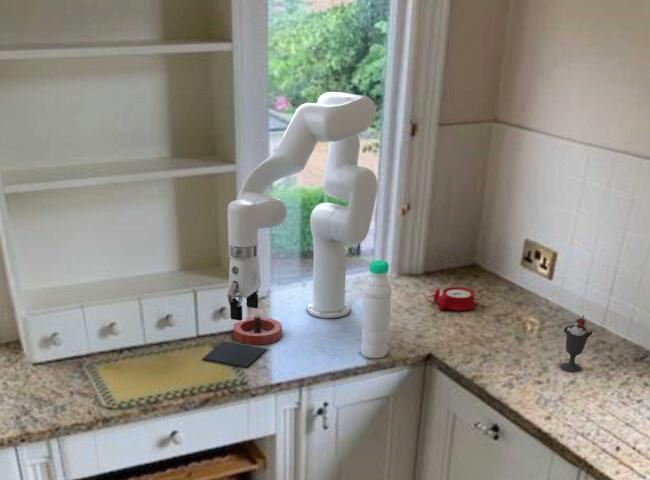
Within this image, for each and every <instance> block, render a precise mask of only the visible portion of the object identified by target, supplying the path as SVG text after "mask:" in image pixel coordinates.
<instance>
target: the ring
mask: <svg viewBox="0 0 650 480" xmlns="http://www.w3.org/2000/svg"><path fill="white" fill-rule="evenodd" d="M260 317H261V316H260ZM245 319H246V320H245V321H242V322H238V321H237V322H238V323H237V322H235V323H234V324H233V328H232V330H233V338H234V339H235V340H236V341H237V342H238V343H239V342H240V343H242V344H244V345H250V346H254V345H255V346H256V345H257V346H259V345H260V346H261V345H268V344H272V343H274V342H277V341H279V340H280V339H281V338H282V336H283V335H282V332H283V331H282V329H283V328H282V327H283V326H282V323H281V322H280V321H278V320H276V319H274V318H270V317H263V316H262V317H261V329H263V330H268V331H266V332H264V333H250V332H249V331H248V330H253V329H254V316H253V317H247V318H245Z"/></svg>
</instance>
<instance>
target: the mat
mask: <svg viewBox="0 0 650 480" xmlns="http://www.w3.org/2000/svg"><path fill="white" fill-rule="evenodd" d="M265 352H267V348H264V347H259V346H254V345H249V344H243V343H242V344H241V343H236V342H231V341H222V342H221V343H219V344H218V345H217V346H215V348H213V349H212V350H211V351H209V352H208V353H207V354H206V355H205V356H204V357H202V361H207V362H212V363H218V364H222V365H228V366H233V367H239V368H245V369H248V368H249V367H250V366H251V365H252V364H253V363H255V362H256V361H257V360H258V359H259V358H260V357H261V356H262V355H263V354H264V353H265Z"/></svg>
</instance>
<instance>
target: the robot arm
mask: <svg viewBox="0 0 650 480" xmlns="http://www.w3.org/2000/svg"><path fill="white" fill-rule="evenodd" d="M376 114H377V107H376V104H375V102H374V101H373V100H372V99H371V98H370V97H369V96H366V95H361V94H353V93H347V92H338V91H329V92H325V93H322V94H321V95H320V96H319V98H318V100H317V103H314V102H306V103H302V104H301V105H299V106H298V108H297V109H296V110H295V112H294V114H293V116H292V118H291V120H290V122H289V124H288V126H287V128H286V130H285V132H284V134H283V135H282V138H281V140H280V141H279V144H278V145H277V148H276V149H275V151H274V153H272V154H271V155H270V156H268V157H267V158H266V159H264V160H263V161H262V162H261V163H259V164H258V165H257V166H256V167H255V168H254V169H253V170H252V171H251V172H250V173H249V174H248V175H247V177H246V178H245V180H244V182H243V184H242V186H241V188H240V190H239V192H238V194H237V197H236V200H233V201H232V200H231V202H229V203H228V205H227V235H228V236H227V238H228V257H229V270H228V286H229V287H228V291H227V293H226V296H227V300H228V301H227V302H228V303H229V304H228V305H229V309H230V311H229V312H230V320H235V321H241V320H243V305H242V301H243V298H244V299H246V307H247V308H252V309H258V308H259V291H260V290H259V289H260V288H261V267H260V258H259V234H258V233H259V232H258V231H259V229H271V228H276V227H279V226H280V225H282V224H283V223H284V221H285V220H286V218H287V215H288V210H287V206H286V204H285V202H284V201H283V200H281V199H280V198H278V197H275V196H270V195H267V194H265V192H266V191H267V189H268V188H269V187H270V186H272V184H275V182H277V181H279V180H281V179H285V178H287V177H291V176H293V175H296V174H298V173H300V172H302V171H304V169H305V168H306V166H307V164H308V162H309V159H310V158H311V156H312V154H313V152H314V149H315V148H316V146H317V144H318V142H319V141H325V142H328V149H327V155H326V156H327V157H326V162H325V166H324V172H323V177H322V178H323V179H322V191H323V194H325V195H326V196H327V197H329V198H333V199H336V200H340V201H344V202H347V203H348V206H346V205H343V204H338V203H334V202H322V203H319V204H317V205H316V206H315V207H314V208H313V210H312V211H311V214H310V219H309V224H310V230H311V236H312V245H313V260H312V302H310V303H309V304H308V305H307V313H309V314H310V315H311V316H314V317H317V318H322V319H337V318H341V317H344V316H347V315H348V314H349V313H350V311H351V310H350V308H351V307H350V305H349V304H348V303H346V294H347V290H346V278H347V276H346V273H347V249H346V245H345V244H348V245H354V246H355V245H359V244H361V243H363V242H364V241H365V239H366V238H367V236H368V234H369V231H370V227H371V223H372V218H373V214H374V210H375V204H376V198H377V194H378V179H377V176H376V174H375V173H374V171H373V170H371V169H370V168H368V167H364V166H360V165H358V163H359V157H360V149H361V142H360V138H359V134H362V133H364V132H365V131H367V130H368V129H369V128H370V127H371V126H372V125H373V123H374V121H375V119H376V117H377V116H376Z"/></svg>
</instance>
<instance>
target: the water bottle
mask: <svg viewBox="0 0 650 480" xmlns="http://www.w3.org/2000/svg"><path fill="white" fill-rule="evenodd" d="M389 266H390V265H389V263H388V262H387V261H386V260H378V259H377V260H372V261H371V262H370V263H369V273H370V277H369V278H368V279H367V282H366V284H365V286H364V288H363V295H364V296H363V304H362V330H361V346H360V353H361V354H362V355H363V356H364V357H366V358H369V359H380V358H383V357H386V356H387V354H388V351H389V350H388V349H389V342H388V340H389V336H390V334H389V327H390V319H391V305H392V304H391V302H392V301H391V300H392V299H391V295H392V290H393V289H392V287H391V286H392V285H391V284H390V282H389V281H390V280H389V279H388V277H387V275H388V273H389V268H390V267H389Z"/></svg>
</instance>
